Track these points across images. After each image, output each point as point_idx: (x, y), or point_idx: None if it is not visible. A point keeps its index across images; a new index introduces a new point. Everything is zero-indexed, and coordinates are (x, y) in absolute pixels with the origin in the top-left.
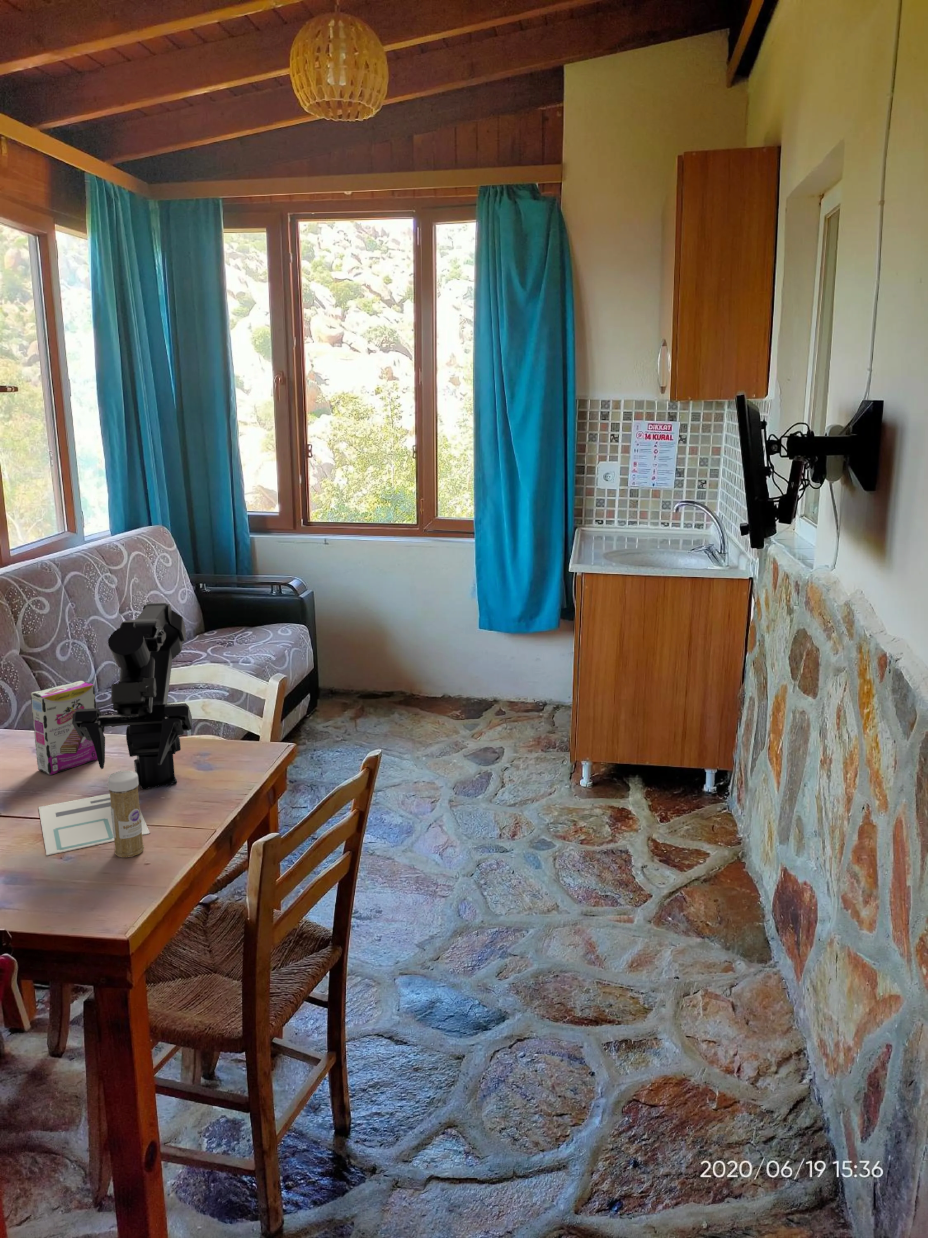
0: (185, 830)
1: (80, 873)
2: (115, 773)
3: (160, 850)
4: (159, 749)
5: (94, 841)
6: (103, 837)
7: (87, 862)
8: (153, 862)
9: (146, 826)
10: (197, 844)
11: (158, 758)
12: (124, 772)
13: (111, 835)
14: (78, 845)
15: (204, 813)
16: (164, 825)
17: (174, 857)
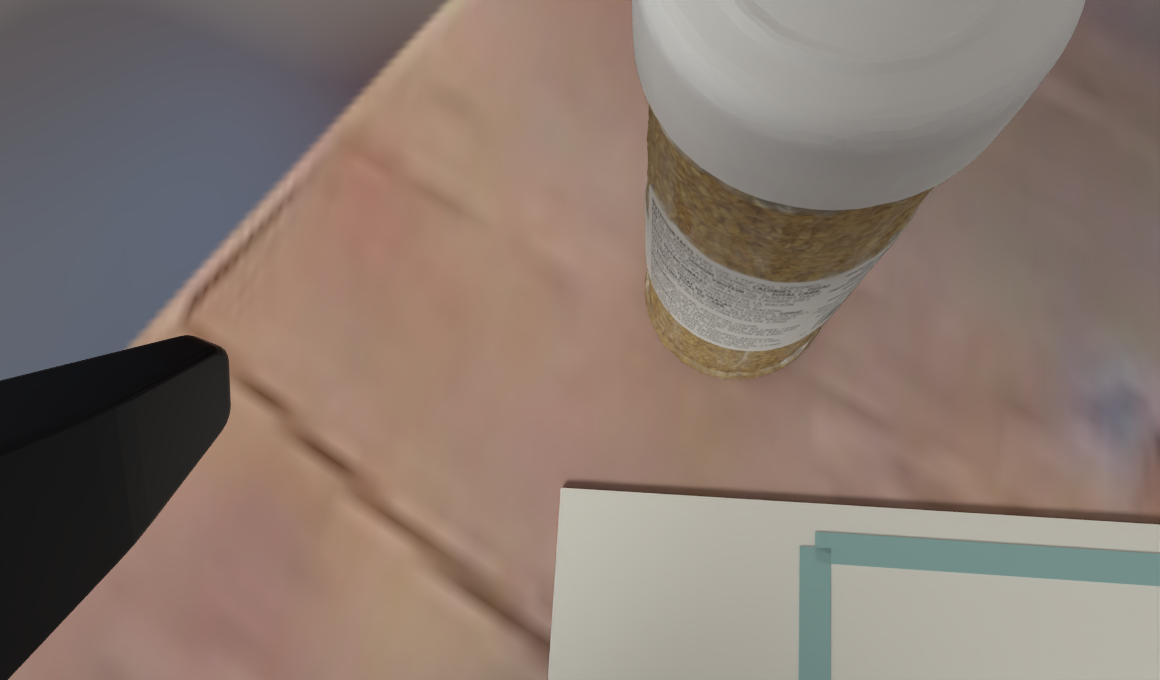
0: (346, 411)
1: (1048, 175)
2: (961, 57)
3: (560, 222)
4: (9, 424)
5: (934, 558)
6: (866, 594)
7: (998, 293)
8: (632, 99)
9: (557, 604)
10: (349, 186)
11: (166, 366)
12: (815, 30)
13: (809, 591)
14: (1048, 553)
15: (149, 607)
16: (441, 568)
17: (512, 99)
